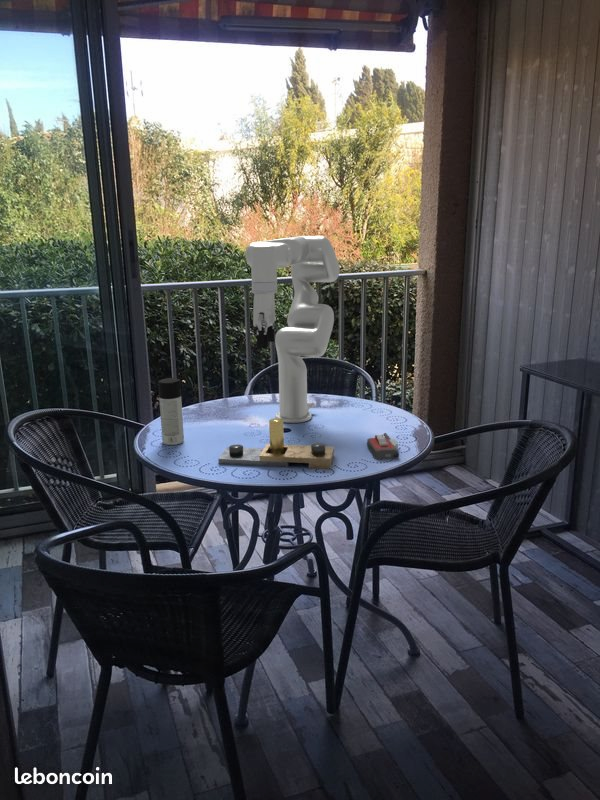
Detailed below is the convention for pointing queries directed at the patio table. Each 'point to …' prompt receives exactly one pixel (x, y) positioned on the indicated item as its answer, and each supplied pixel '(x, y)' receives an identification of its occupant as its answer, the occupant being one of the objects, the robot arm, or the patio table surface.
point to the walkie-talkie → (383, 447)
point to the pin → (276, 436)
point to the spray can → (171, 411)
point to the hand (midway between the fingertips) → (266, 344)
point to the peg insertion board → (280, 456)
